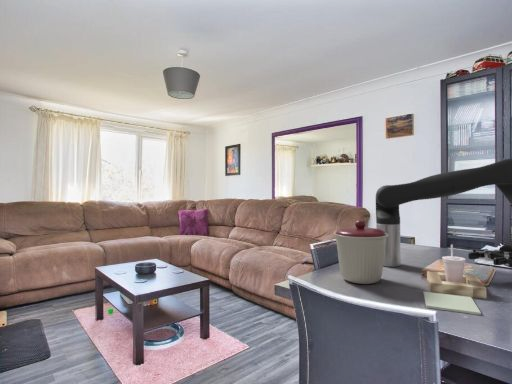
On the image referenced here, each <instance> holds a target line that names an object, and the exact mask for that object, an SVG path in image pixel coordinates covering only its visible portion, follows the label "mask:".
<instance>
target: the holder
mask: <svg viewBox="0 0 512 384" xmlns="http://www.w3.org/2000/svg"><path fill="white" fill-rule="evenodd" d="M426 280H427V284H428V288H429V292H431V293H440V294H449V295H457V296H466V297H471V298H476V299H484V300H486V299H487V287H486V286H485V285H484V284H483V282H482V281H481V280H480V279H479V277H477V275H473V274H464V273H463V278H462V283H457V282H447V281H446V277H445V272H441V271H440V272H439V271H428V270H427V271H426Z"/></svg>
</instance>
